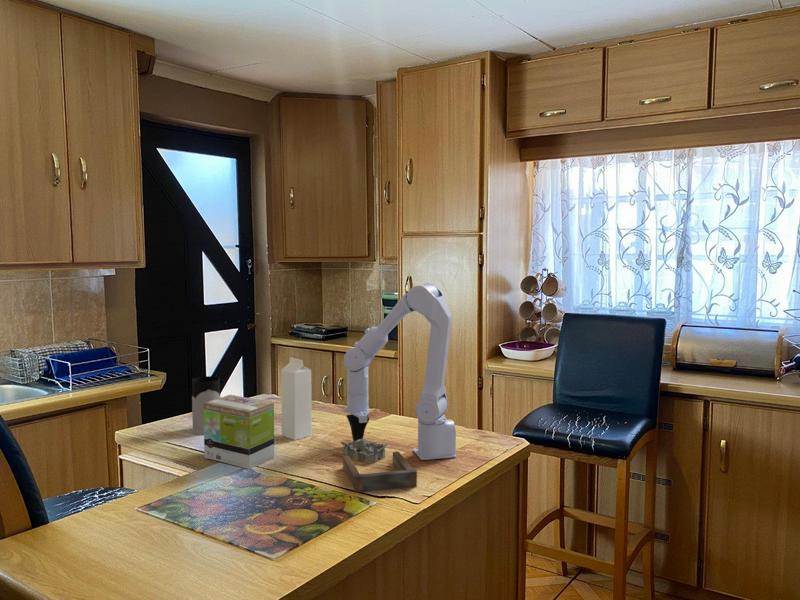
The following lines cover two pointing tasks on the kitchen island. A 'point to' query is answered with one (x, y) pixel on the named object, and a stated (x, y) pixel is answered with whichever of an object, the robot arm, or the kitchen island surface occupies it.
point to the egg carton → (364, 450)
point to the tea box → (239, 430)
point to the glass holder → (203, 399)
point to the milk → (296, 400)
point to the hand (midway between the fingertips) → (357, 441)
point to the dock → (381, 476)
